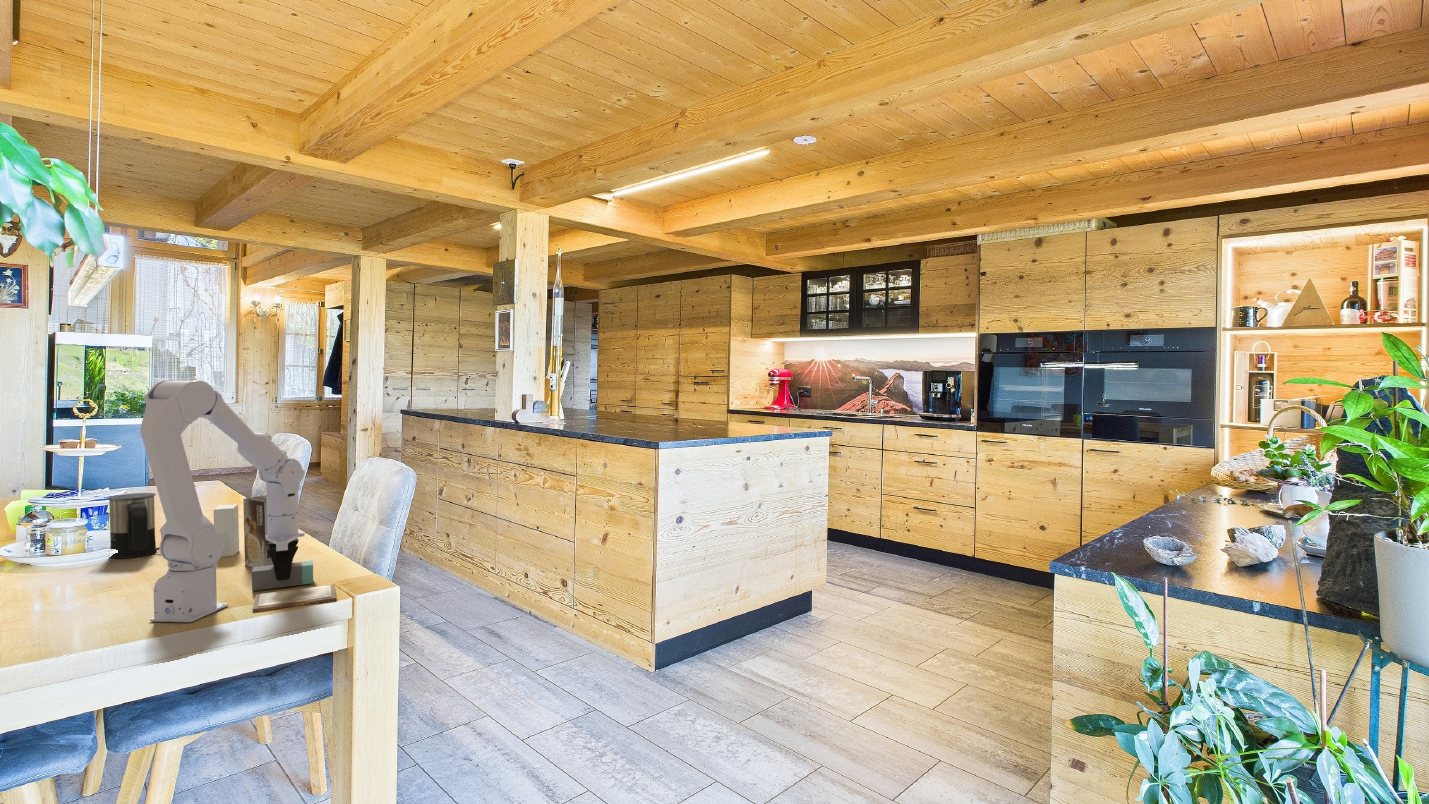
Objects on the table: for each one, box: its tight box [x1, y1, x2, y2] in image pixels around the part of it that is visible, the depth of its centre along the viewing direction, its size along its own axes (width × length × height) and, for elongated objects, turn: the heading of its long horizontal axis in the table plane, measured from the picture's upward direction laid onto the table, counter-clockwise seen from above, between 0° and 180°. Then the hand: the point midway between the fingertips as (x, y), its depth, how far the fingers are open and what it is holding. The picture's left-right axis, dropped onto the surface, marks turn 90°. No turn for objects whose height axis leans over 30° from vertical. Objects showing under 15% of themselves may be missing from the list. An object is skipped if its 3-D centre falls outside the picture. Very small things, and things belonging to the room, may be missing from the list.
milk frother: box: [107, 492, 160, 559], centre depth 174 cm, size 14×16×15 cm
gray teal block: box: [251, 560, 314, 592], centre depth 148 cm, size 11×4×4 cm, turn 121°
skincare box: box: [213, 503, 240, 558], centre depth 173 cm, size 6×4×12 cm
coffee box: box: [242, 495, 273, 568], centre depth 164 cm, size 9×6×16 cm
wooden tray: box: [252, 584, 337, 613], centre depth 140 cm, size 14×10×1 cm
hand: (283, 576), depth 148 cm, fingers closed on gray teal block, 4 cm apart
